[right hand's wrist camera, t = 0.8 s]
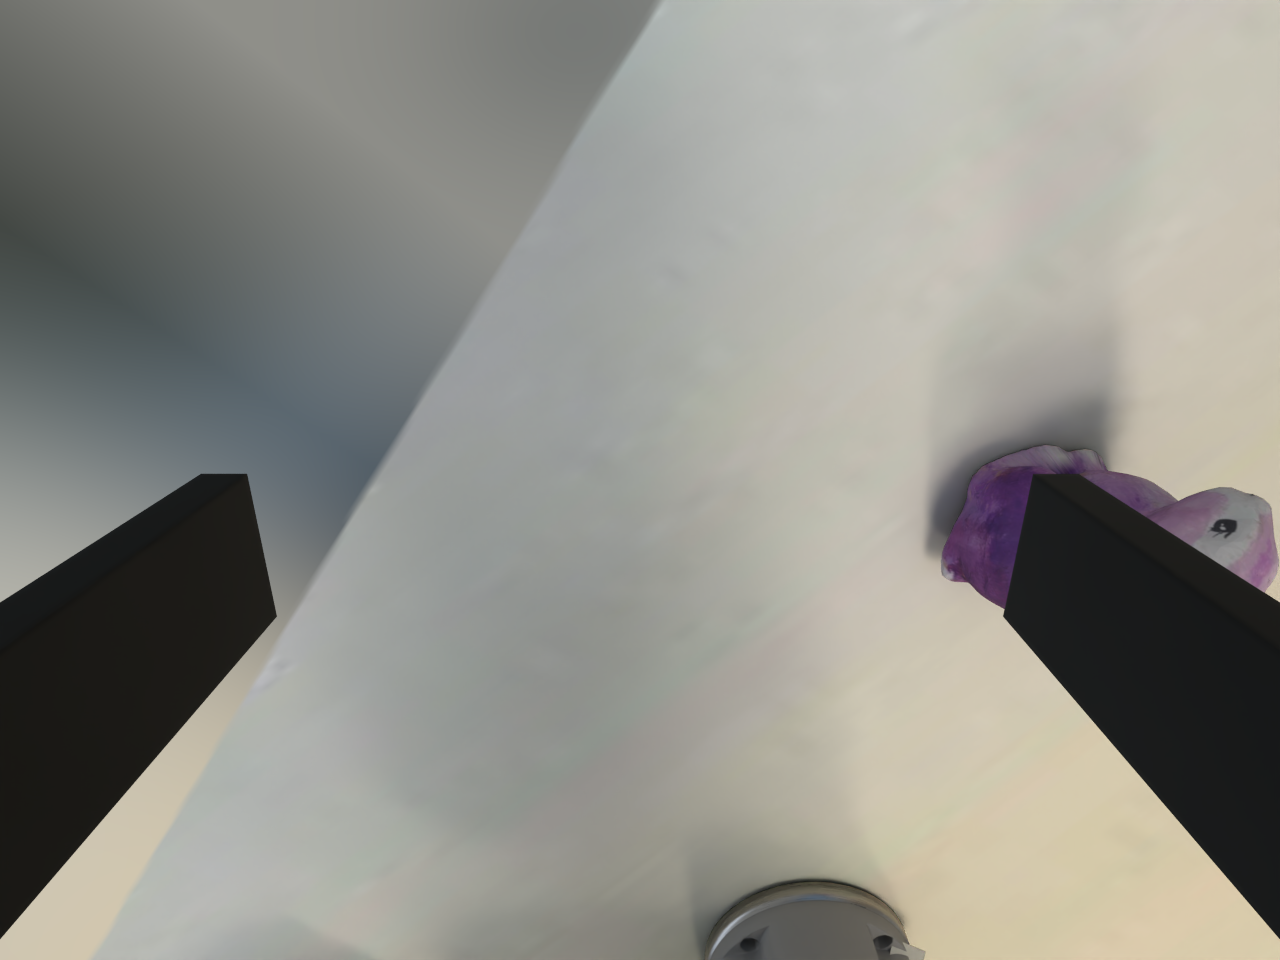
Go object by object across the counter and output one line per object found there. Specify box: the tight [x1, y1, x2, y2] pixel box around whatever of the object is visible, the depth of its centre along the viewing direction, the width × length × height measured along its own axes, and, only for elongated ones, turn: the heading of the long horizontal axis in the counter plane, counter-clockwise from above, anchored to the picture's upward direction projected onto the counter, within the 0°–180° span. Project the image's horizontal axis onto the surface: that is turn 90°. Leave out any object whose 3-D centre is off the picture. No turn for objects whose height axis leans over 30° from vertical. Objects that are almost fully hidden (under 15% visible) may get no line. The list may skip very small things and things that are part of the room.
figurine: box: [941, 445, 1279, 609], centre depth 35 cm, size 9×10×15 cm
